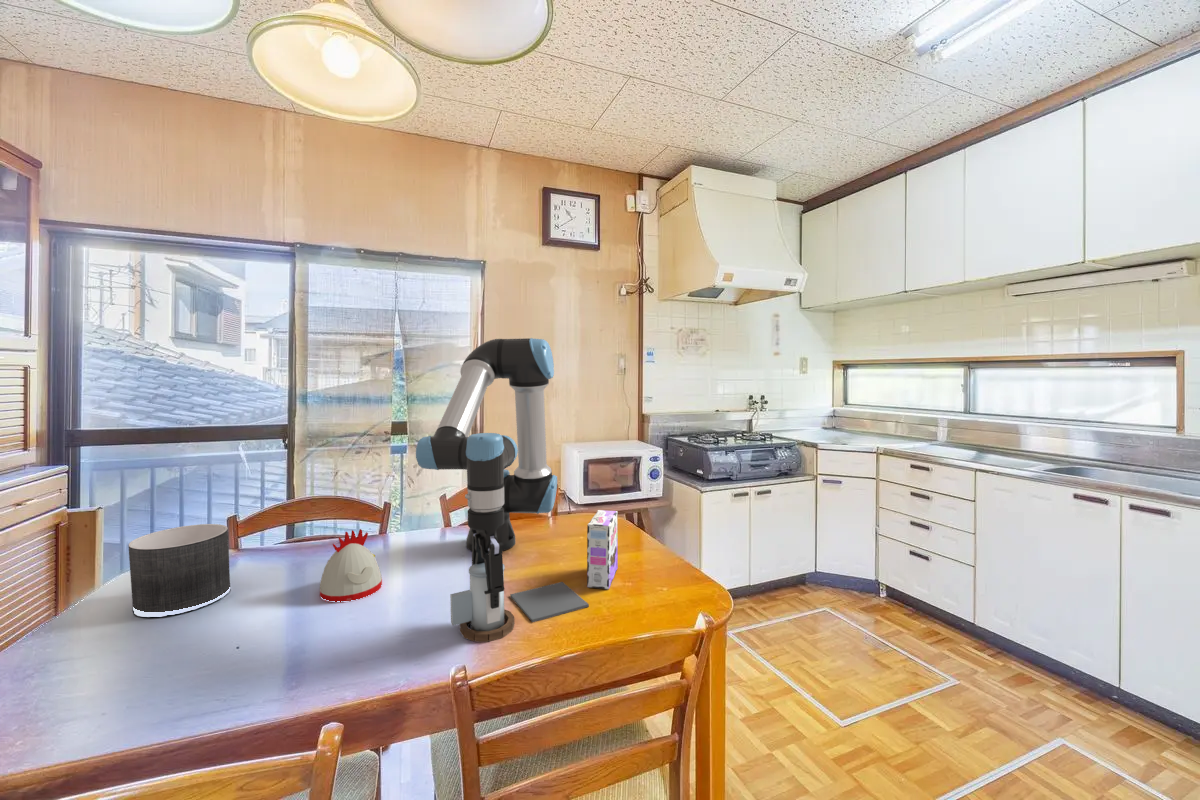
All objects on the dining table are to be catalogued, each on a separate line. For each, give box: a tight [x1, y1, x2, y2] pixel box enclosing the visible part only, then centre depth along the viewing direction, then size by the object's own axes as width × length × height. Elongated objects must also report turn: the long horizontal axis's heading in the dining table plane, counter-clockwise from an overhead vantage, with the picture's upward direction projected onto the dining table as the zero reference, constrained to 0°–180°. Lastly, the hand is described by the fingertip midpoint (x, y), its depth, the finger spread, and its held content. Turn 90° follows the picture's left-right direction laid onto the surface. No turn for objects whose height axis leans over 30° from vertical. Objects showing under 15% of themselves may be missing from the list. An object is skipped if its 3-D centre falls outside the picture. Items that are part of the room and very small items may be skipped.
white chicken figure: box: [319, 528, 383, 603], centre depth 121 cm, size 14×14×15 cm
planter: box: [128, 523, 231, 612], centre depth 115 cm, size 18×18×16 cm
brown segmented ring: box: [459, 608, 516, 643], centre depth 103 cm, size 11×11×2 cm
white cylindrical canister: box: [450, 562, 506, 631], centre depth 102 cm, size 11×7×13 cm, turn 121°
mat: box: [509, 581, 590, 623], centre depth 115 cm, size 14×14×1 cm
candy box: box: [586, 509, 619, 590], centre depth 127 cm, size 14×6×16 cm, turn 168°
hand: (487, 613), depth 103 cm, fingers closed on white cylindrical canister, 7 cm apart
